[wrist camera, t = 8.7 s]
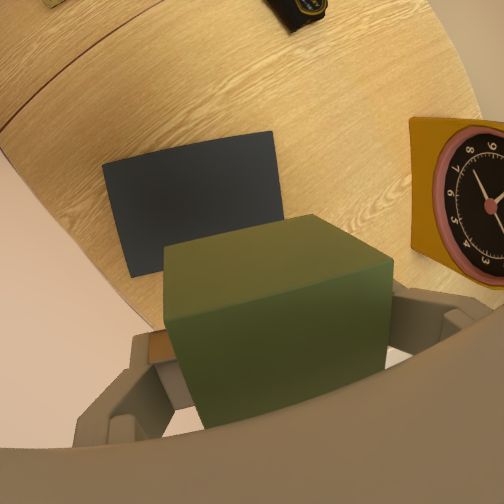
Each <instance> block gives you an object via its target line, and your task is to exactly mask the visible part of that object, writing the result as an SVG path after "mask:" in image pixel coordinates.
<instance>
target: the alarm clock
mask: <svg viewBox="0 0 504 504" xmlns="http://www.w3.org/2000/svg"><path fill="white" fill-rule="evenodd" d="M409 128H410V142H411V162H412V233H411V248H412V249H414V250H416V251H418V252H420V253H422V254H424V255H426V256H428V257H429V258H431V259H433V260H435V261H437V262H439V263H441V264H443V265H444V266H446V267H448V268H450V269H452V270H454V271H455V272H457V273H459V274H461V275H463V276H464V277H466V278H468V279H470V280H472V281H473V282H475V283H477V284H479V285H482V286H484V287H487V288H489V289H492V290H504V123H503V122H496V121H488V120H475V119H457V118H427V117H412V118H410V120H409Z"/></svg>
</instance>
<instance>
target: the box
mask: <svg viewBox="0 0 504 504" xmlns="http://www.w3.org/2000/svg"><path fill="white" fill-rule="evenodd" d="M42 1H43V2H44V3H45V4H46V5H47V6H48V7H49V8H52V7H54V6H55V5H57V4H59V3H61V2H63V1H64V0H42Z"/></svg>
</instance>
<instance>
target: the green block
mask: <svg viewBox="0 0 504 504" xmlns="http://www.w3.org/2000/svg"><path fill="white" fill-rule="evenodd" d="M393 267H394V260H393V258H391V257H389V256H387V255H386V254H384V253H382V252H380V251H379V250H377V249H375V248H373V247H372V246H370V245H368V244H366V243H365V242H363V241H361V240H359V239H357V238H356V237H354V236H352V235H350V234H349V233H347V232H345V231H343V230H341V229H339V228H338V227H336V226H334V225H332V224H330V223H328V222H327V221H325V220H323V219H321V218H319V217H317V216H315V215H313V214H309V215H305V216H300V217H295V218H290V219H286V220H281V221H276V222H272V223H267V224H263V225H258V226H253V227H249V228H244V229H240V230H235V231H231V232H226V233H222V234H218V235H213V236H209V237H204V238H200V239H196V240H191V241H187V242H183V243H178V244H174V245H170V246H166V247H164V274H163V320H164V325H165V328H166V330H167V333H168V336H169V339H170V342H171V345H172V348H173V350H174V353H175V356H176V359H177V361H178V364H179V367H180V369H181V372H182V375H183V377H184V380H185V382H186V385H187V388H188V390H189V393H190V395H191V398H192V400H193V403H194V405H195V407H196V410H197V412H198V415H199V417H200V419H201V422H202V424H203V426H204V429H208V428H213V427H217V426H221V425H225V424H229V423H233V422H237V421H241V420H245V419H248V418H252V417H255V416H259V415H262V414H266V413H269V412H273V411H276V410H279V409H282V408H285V407H289V406H292V405H295V404H298V403H301V402H304V401H306V400H309V399H312V398H315V397H318V396H321V395H323V394H326V393H329V392H331V391H334V390H337V389H339V388H342V387H344V386H347V385H349V384H352V383H354V382H357V381H359V380H361V379H364V378H366V377H368V376H371V375H373V374H375V373H378V372H380V371H382V370H384V369H385V364H386V356H387V348H388V339H389V329H390V318H391V305H392V289H393Z"/></svg>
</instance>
